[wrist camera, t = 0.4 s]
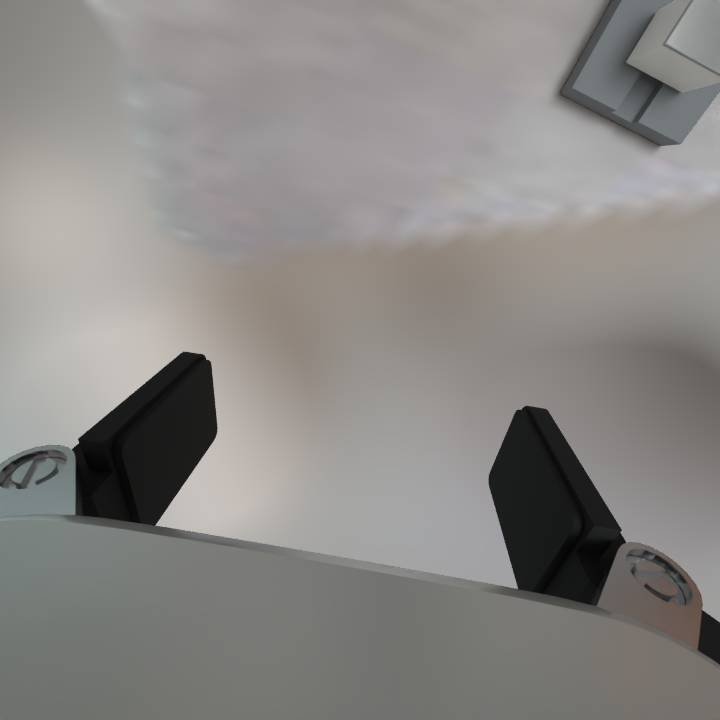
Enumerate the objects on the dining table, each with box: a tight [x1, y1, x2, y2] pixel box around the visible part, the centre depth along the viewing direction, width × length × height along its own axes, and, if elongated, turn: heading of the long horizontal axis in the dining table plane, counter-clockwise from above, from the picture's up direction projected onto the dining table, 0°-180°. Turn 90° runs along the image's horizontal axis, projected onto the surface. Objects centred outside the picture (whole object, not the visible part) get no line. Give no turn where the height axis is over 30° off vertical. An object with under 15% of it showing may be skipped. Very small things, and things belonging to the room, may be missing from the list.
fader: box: [626, 0, 720, 93], centre depth 24 cm, size 3×5×5 cm, turn 68°
